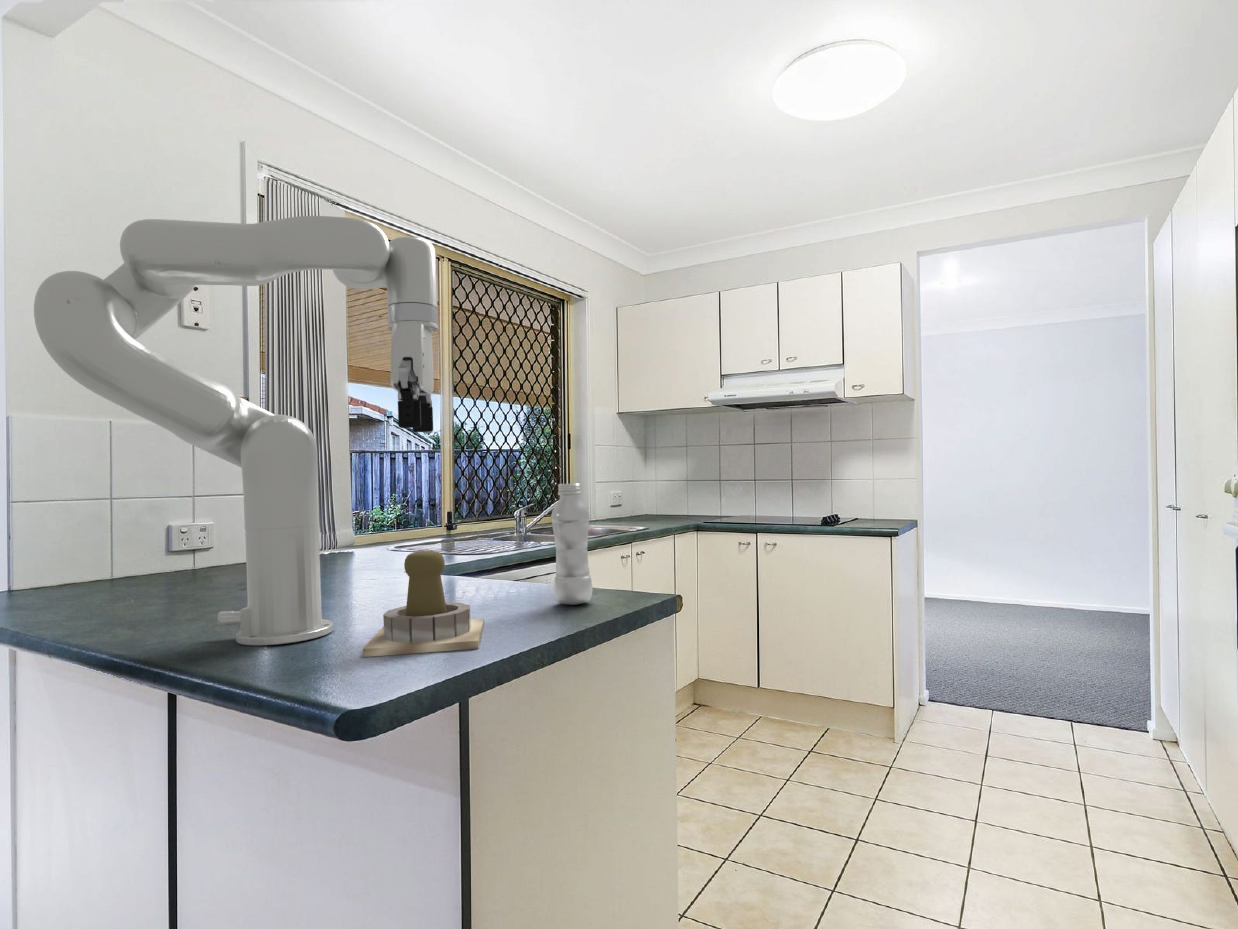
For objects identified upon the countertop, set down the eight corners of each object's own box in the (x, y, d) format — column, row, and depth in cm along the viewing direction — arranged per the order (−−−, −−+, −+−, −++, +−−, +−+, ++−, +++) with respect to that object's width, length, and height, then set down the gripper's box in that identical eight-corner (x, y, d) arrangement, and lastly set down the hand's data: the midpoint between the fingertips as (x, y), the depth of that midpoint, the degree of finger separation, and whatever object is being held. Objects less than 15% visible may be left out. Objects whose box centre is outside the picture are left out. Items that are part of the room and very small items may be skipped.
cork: (441, 638, 90) (438, 553, 90) (396, 639, 90) (393, 554, 90) (456, 628, 96) (453, 548, 96) (413, 629, 96) (410, 549, 97)
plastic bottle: (598, 600, 118) (593, 482, 118) (585, 608, 111) (581, 483, 112) (562, 600, 120) (558, 484, 120) (548, 608, 113) (543, 485, 113)
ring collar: (362, 657, 86) (361, 624, 86) (384, 632, 100) (383, 604, 100) (478, 648, 88) (477, 616, 88) (484, 625, 102) (483, 598, 102)
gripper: (401, 332, 117) (404, 434, 117) (373, 307, 100) (377, 426, 100) (446, 331, 118) (450, 432, 117) (426, 306, 100) (430, 424, 100)
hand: (416, 429), depth 108 cm, fingers open, 9 cm apart
